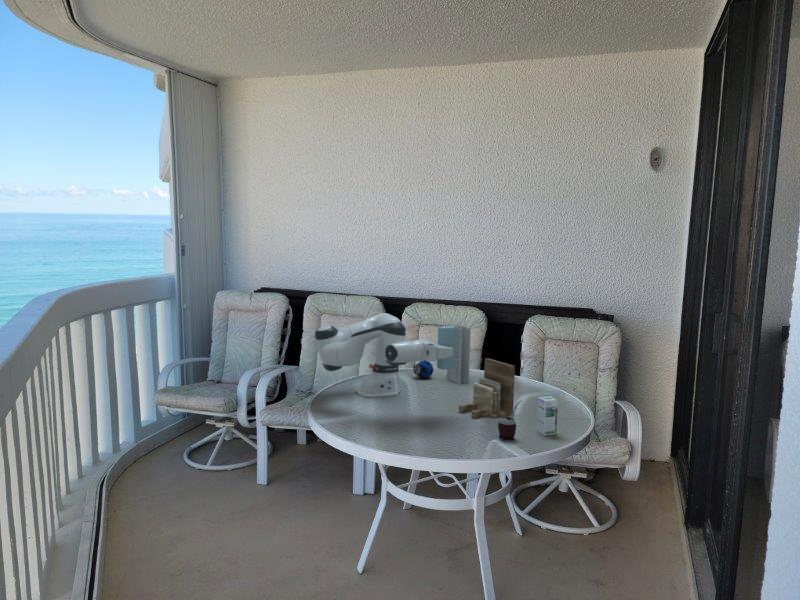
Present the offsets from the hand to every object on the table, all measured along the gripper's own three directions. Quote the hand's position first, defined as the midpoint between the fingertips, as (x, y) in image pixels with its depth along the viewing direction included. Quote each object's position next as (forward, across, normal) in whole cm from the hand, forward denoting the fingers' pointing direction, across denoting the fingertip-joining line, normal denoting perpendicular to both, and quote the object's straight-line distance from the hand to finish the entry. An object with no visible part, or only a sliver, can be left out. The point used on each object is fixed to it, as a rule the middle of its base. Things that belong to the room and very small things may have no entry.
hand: (448, 347), depth 250 cm
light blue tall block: (-1, 0, -9) cm, 9 cm away
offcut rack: (+17, +5, -30) cm, 35 cm away
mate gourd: (+3, +36, -30) cm, 47 cm away
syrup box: (+21, +39, -30) cm, 54 cm away
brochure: (+41, -46, -30) cm, 69 cm away
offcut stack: (+18, +5, -29) cm, 35 cm away
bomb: (+28, -60, -30) cm, 73 cm away
